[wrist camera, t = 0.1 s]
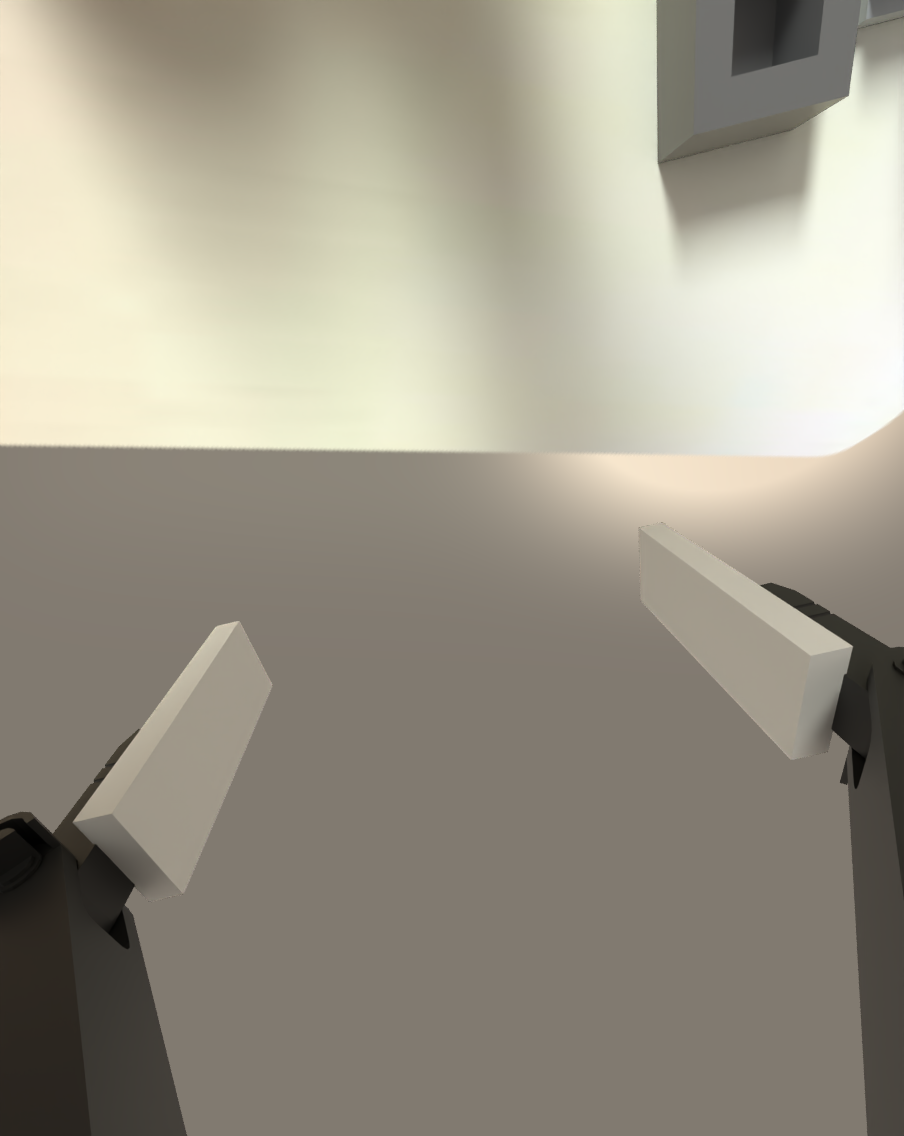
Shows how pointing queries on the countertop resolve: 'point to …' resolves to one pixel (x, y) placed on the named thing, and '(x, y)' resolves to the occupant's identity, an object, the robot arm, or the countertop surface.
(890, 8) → the grey flat square channel
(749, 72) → the port block
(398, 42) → the countertop surface
